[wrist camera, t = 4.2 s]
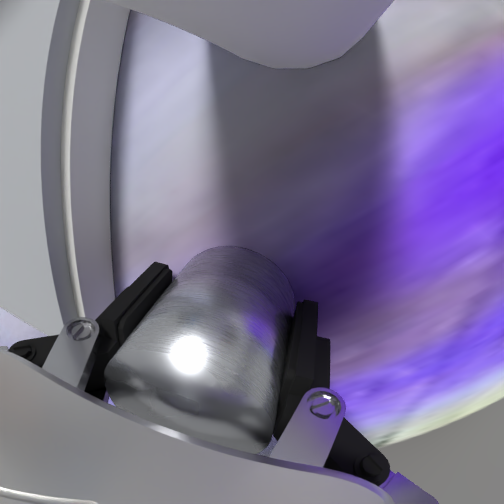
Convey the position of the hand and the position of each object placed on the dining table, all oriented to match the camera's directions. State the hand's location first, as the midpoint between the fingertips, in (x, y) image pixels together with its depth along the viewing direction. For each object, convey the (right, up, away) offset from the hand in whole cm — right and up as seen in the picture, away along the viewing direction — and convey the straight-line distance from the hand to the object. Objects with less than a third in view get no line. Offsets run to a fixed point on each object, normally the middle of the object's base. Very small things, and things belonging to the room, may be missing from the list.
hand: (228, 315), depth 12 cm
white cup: (+2, +11, -4) cm, 12 cm away
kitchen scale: (-13, +9, 0) cm, 16 cm away
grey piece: (0, 0, +1) cm, 1 cm away
